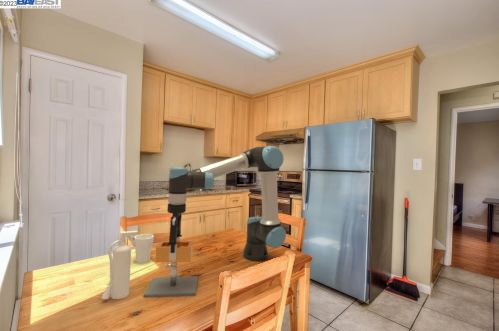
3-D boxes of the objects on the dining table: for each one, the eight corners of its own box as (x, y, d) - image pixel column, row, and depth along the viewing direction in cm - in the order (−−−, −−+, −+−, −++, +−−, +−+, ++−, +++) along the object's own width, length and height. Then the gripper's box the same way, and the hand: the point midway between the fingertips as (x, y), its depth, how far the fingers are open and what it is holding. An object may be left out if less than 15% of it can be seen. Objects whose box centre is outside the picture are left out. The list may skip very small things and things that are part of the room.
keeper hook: (176, 283, 102) (177, 259, 102) (175, 286, 100) (176, 262, 99) (164, 283, 101) (165, 259, 101) (163, 286, 99) (164, 262, 99)
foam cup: (145, 265, 120) (146, 240, 120) (129, 263, 121) (130, 238, 121) (156, 258, 129) (157, 234, 129) (141, 256, 131) (142, 233, 131)
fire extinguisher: (96, 298, 89) (102, 233, 90) (128, 287, 99) (133, 228, 99) (103, 305, 85) (110, 237, 86) (136, 293, 95) (142, 231, 95)
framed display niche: (192, 254, 106) (192, 241, 106) (190, 261, 98) (191, 247, 98) (159, 254, 104) (160, 241, 104) (155, 262, 96) (156, 247, 96)
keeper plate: (197, 278, 109) (197, 276, 109) (195, 295, 95) (195, 292, 95) (152, 279, 106) (152, 277, 106) (143, 297, 92) (143, 294, 92)
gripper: (172, 199, 110) (169, 247, 111) (162, 207, 90) (159, 266, 90) (188, 199, 112) (186, 247, 112) (182, 207, 91) (179, 266, 91)
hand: (174, 255), depth 101 cm, fingers closed on framed display niche, 8 cm apart
